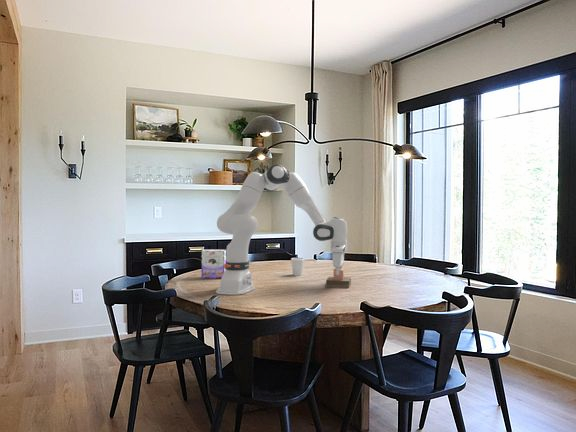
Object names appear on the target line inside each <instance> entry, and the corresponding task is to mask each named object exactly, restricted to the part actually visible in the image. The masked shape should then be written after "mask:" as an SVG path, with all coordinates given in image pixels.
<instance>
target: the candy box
mask: <svg viewBox="0 0 576 432" xmlns="http://www.w3.org/2000/svg"><path fill="white" fill-rule="evenodd" d="M200 253H201V254H200V260H201V261H200V263H201V264H200V265H201V266H200V268H201V269H200V270H201V279H222V276H223V274H224V272H225V268H224V264H226V261H227V249H202V250H201V251H200Z"/></svg>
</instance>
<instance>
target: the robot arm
mask: <svg viewBox="0 0 576 432" xmlns="http://www.w3.org/2000/svg"><path fill="white" fill-rule="evenodd" d="M279 188H282V189H283V190H284V191H285V192H286V194H287V195H288V197H289V199H290V201H292V203H293V204H294V205H295V206H296V207H298V208H299V209H300V210H301V209H302V210H303V211H304V212H305V213H306V214H307V215H308V217H309V218H310V219H311V221H312V222H313V224H314V227H313V229H312V235H313V237H314V238H315V239H316V241H320V242H325V241H328V240H329V241H330V253H331V254H332V255H331V258H332V266H333V268H334V269H336V275H339V274H340V271H339V269H343V264H344V262H345V254H346V252H347V251H348V240H347V237H348V223H347V220H346V219H345V218H343V217H338V216H333V217H331V218H330V219H327V220H326V218H325V217H324V216H323V213H321V211H320V210H319V208H318V207H317V205H316V203H315V201H314V199H313V196H312V194H311V192H310V190H309V188H308V186H307V185H306V183H305V181H304V180H303V179H302V178H301V177H300V175H299V174H297V172H296V171H295V172H294V171H291V172H289V170H287V168H285V167H284V166H283V165H281V164H276V163H275V164H272V165H270V166H268V168H267V169H266V170H265V172H264V173H260V172H258V171H253V172H252V171H251V172H250V173H249V174H248V175H247V176H246V179H245V180H244V181H243V183H242V185H241V188H240V190H239V191H238V194H237V197H236V198H235V200H234V202H233V203H232V205H230V206H229V208H228V209H227V210H226V211H225V212H224V213H222V214H221V215H219V216H218V218H217V220H216V227H217V230H218V231H220V232H222V233H224V234H227V235H232V239H231V241H230V242H229V243H228V244H227V245H226V264H224V268H225V272H224V274H223V276H222V278H220V285H219V287H218V288H216V291H215V294H218V295H226V296H227V295H231V296H235V295H236V296H237V295H245V294H247V293H249V292H251V291H254V290H256V287H255V286H253V274H252V272H251V271H250V269H249V268H250V261H249V246H250V243H251V242H250V241H251V239H252V237H253V235H254V234H255V233H256V232H257V231H258V228H259V221H258V219H257V217H256V216H254V215H252V214H250V213H251V212H253V211H254V210H255V209H256V208H257V205H258V203H259V200H260V199H261V196H262V193H263V191H266V192H276V191H277V190H278V189H279Z"/></svg>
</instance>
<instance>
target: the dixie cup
mask: <svg viewBox="0 0 576 432" xmlns="http://www.w3.org/2000/svg"><path fill="white" fill-rule="evenodd" d="M290 260H291V268H292V275H293V276H295V277H300V276H303V273H304V266H305V265H304V264H305V258H303V257H292V258H290Z"/></svg>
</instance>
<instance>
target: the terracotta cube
mask: <svg viewBox="0 0 576 432" xmlns="http://www.w3.org/2000/svg"><path fill="white" fill-rule="evenodd" d="M339 271H340V274H339V275H336V269H335V268H334V269H333V277H334V279H335V280H343V279H344V277H345V269H344V268H342V269H339Z"/></svg>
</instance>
